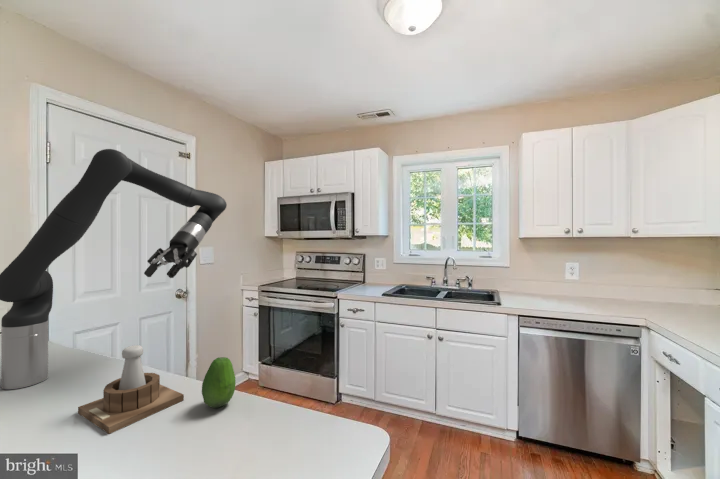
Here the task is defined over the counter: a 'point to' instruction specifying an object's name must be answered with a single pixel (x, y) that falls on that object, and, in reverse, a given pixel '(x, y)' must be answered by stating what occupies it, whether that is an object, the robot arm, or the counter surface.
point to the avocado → (219, 383)
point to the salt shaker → (132, 368)
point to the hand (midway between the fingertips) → (158, 275)
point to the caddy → (129, 403)
